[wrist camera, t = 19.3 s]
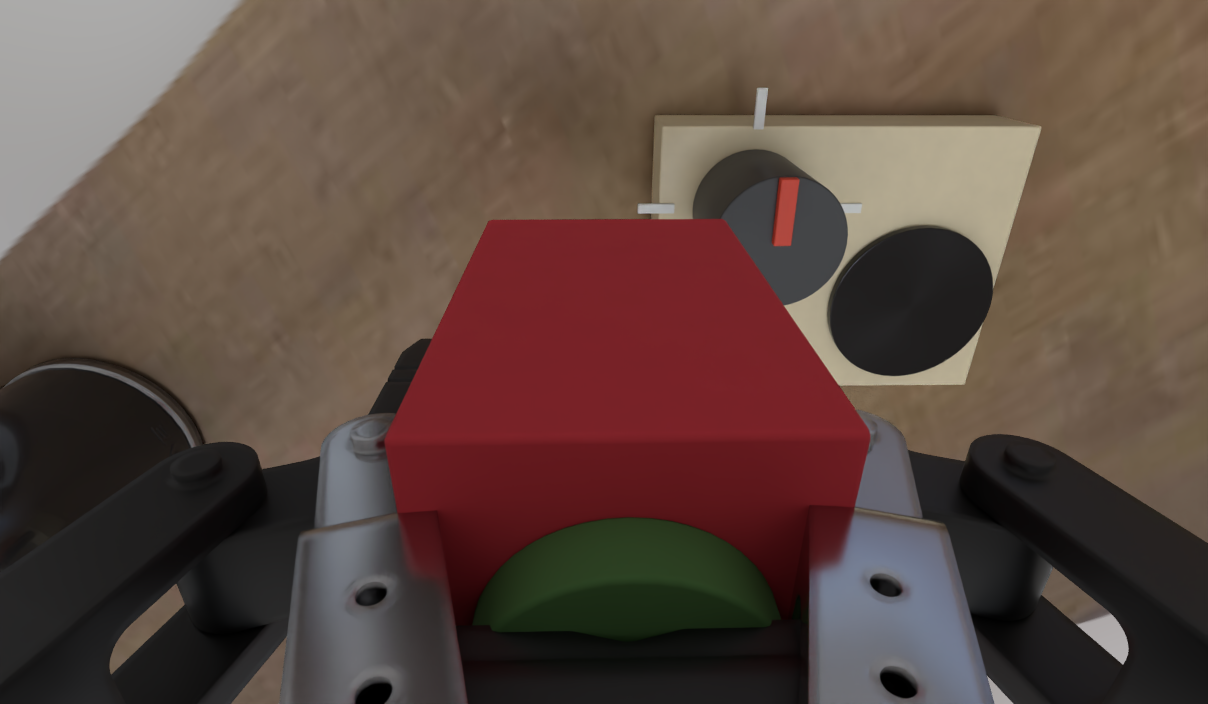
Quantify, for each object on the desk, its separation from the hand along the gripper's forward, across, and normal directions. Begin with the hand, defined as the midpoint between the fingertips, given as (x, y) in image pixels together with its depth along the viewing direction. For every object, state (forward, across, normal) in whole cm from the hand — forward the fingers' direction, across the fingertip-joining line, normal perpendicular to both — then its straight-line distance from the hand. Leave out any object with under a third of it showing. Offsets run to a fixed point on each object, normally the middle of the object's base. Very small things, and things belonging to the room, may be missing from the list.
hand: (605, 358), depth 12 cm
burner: (+14, -13, +5) cm, 19 cm away
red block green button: (+1, 0, 0) cm, 1 cm away
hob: (+17, -9, +3) cm, 19 cm away
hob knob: (+14, -6, +1) cm, 15 cm away
